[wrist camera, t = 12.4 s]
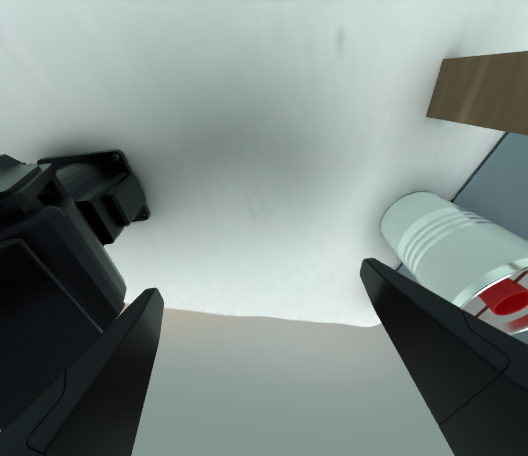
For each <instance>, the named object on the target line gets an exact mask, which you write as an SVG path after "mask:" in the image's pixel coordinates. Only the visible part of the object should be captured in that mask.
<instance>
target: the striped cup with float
mask: <svg viewBox="0 0 528 456" xmlns="http://www.w3.org/2000/svg"><path fill="white" fill-rule="evenodd" d="M380 230H381V234H382V236H383V237H384V239H385V240H386V241H387V242H388V244H389V245H390V246H391V248H392V249H393V250H394V251H395V253H396V254H397V255H398V257H399V258H400V259H401V261H402V262H403V263H404V265H405V266H406V268H407V269H408V270H409V272H410V273H411V274H412V275H413V277H414V278H415V279H416V280H417V282H418V283H419V284H420V285H421V286H423V287H425V288H427V289H428V290H430V291H432V292H434V293H435V294H437V295H439V296H441V297H442V298H444V299H446V300H448V301H449V302H451V303H453V304H455V305H456V306H458V307H460V308H461V310H462V309H463V310H465V311H467V312H469V313H470V314H472V315H474V316H476V317H477V318H479V319H481V320H483V321H485V322H486V323H488V324H490V325H492V326H494V327H496V328H497V329H499V330H501V331H503V332H505V333H507V334H509V335H514V334H517V333H520V332H523V331H526V330H528V241H527V240H525V239H524V238H522V237H520V236H518V235H516V234H514V233H512V232H510V231H508V230H507V229H505V228H503V227H501V226H499V225H497V224H495V223H493V222H491V221H489V220H487V219H485V218H483V217H481V216H479V215H477V214H475V213H473V212H470V211H468V210H466V209H464V208H462V207H460V206H458V205H456V204H453V203H451V202H449V201H447V200H445V199H443V198H441V197H439V196H437V195H435V194H433V193H430V192H416V193H412V194H409V195H407V196H404V197H402V198H401V199H399V200H398V201H396V202H395V203H394V204H393V205H392V206H391V207H390V208H389V209H388V210H387V211H386V213H385V214H384V216H383V218H382V221H381V225H380Z"/></svg>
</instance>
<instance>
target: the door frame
mask: <svg viewBox="0 0 528 456" xmlns="http://www.w3.org/2000/svg"><path fill="white" fill-rule="evenodd" d="M426 117H431V118H436V119H442V120H447V121H452V122H458V123H463V124H468V125H474V126H479V127H484V128H490V129H495V130H500V131H505V132H511V133H516V134H521V135H527V136H528V51H522V52H512V53H502V54H492V55H482V56H472V57H462V58H452V59H444V60H443V63H442V66H441V70H440V73H439V76H438V79H437V83H436V86H435V89H434V93H433V96H432V99H431V103H430V106H429V109H428V113H427V116H426Z"/></svg>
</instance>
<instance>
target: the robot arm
mask: <svg viewBox="0 0 528 456" xmlns="http://www.w3.org/2000/svg"><path fill="white" fill-rule="evenodd" d="M115 154H116V155H118V156H119V159H117V158H116V157H115ZM45 163H46V164H45ZM145 202H146V199H145V196H144V194H143V192H142V189H141V187H140V185H139V183H138V180H137V178H136V176H135V175H134V174H132V172H131V169H130V167H129V165H128V163H127V160H126V158H125V156H124V154H123V153H122V152H121V151H119V150H109V151H100V152H92V153H83V154H74V155H65V156H57V157H48V158H43V159H40V160H38V161H37V164H31V165H26V164H25V162H24V163H22V162H20V161H18V160H16V159H14V158H12V157H10V156H8V155H6V154H4V155H0V430H2V431H1V432H0V456H131V454H132V450H133V446H134V442H135V438H136V434H137V430H138V425H139V421H140V417H141V413H142V409H143V405H144V401H145V397H146V393H147V388H148V385H149V380H150V376H151V372H152V368H153V364H154V360H155V356H156V352H157V348H158V343H159V338H160V331H161V323H162V316H163V308H164V300H163V298H162V296H161V294H160V292H159V290H158V289H157V288H149V289H146V290H144V291H143V292H142V293H141V294H140V295H139V296H138V297H137V298H136V299H135V300H134V301H133V302H132V303H131V304H130V306H128V307H127V308H126V309H125V311H124V312H123V313H122V314H121V315H120V316H119V314H120V313H121V311H122V309H123V308H124V306H125V303H124V298H125V293H126V285H125V282H124V279H123V278H122V276H121V275H120V273H119V271H118V270H117V268H116V267H115V265H114V263H113V262H112V260H111V259H110V257H109V255H108V254H107V252H106V251H105V249H104V245H105V244H112V243H113V242H114V241H115V240H116V238H117V237H118V236H119V234H120V233H121V232H122V230H123V229H124V227H126V226H129V225H130V223H131V222H136V221H143V220H147V219H148V218H149V216H150V212H149V210H148V208H147V206H146V203H145ZM142 214H145V215H146V216H143V215H142ZM360 277H361V279H362V282H363V284H364V286H365V289H366V291H367V294H368V296H369V298H370V301H371V303H372V305H373V308H374V309H375V311H376V313H377V315H378V317H379V319H380V321H381V322H382V324H383V326H384V327H385V330H386V331H387V333H388V335H389V337H390V339H391V340H392V342H393V344H394V346H395V348H396V350H397V351H398V353H399V355H400V357H401V359H402V360H403V362H404V364H405V366H406V368H407V370H408V371H409V373H410V375H411V377H412V379H413V380H414V382H415V384H416V386H417V388H418V390H419V391H420V393H421V395H422V397H423V398H424V400H425V402H426V404H427V406H428V408H429V409H430V411H431V413H432V415H433V417H434V418H435V420H436V422H437V424H438V425H439V428H440V430H441V432H442V433H443V435H444V437H445V439H446V441H447V442H448V444H449V446H450V448H451V450H452V451H453V453H454V455H455V456H528V344H527V343H525V342H523V341H521V340H519V339H517V338H515V337H513V336H511V335H509V334H507V333H505V332H503V331H501V330H499V329H497V328H496V327H494V326H492V325H490V324H488V323H486V322H485V321H483V320H481V319H479V318H477V317H476V316H474V315H472V314H470V313H469V312H467V311H465V310H463V309H462V310H461V308H460V307H458V306H456V305H455V304H453V303H451V302H449V301H448V300H446V299H444V298H442V297H441V296H439V295H437V294H435V293H434V292H432V291H430V290H428V289H427V288H425V287H423V286H421V285H420V284H418V283H416V282H415V281H413V280H411V279H409V278H408V277H406V276H404V275H402V274H401V273H399V272H397V271H395V270H394V269H392V268H390V267H388V266H387V265H385V264H383V263H381V262H380V261H378V260H376V259H374V258H367V259H364V260H363V261H362V265H361V269H360ZM118 316H119V317H118ZM117 317H118V318H117ZM116 318H117V319H116ZM115 319H116V320H115ZM114 320H115V321H114ZM113 321H114V322H113Z"/></svg>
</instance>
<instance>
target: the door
mask: <svg viewBox="0 0 528 456" xmlns="http://www.w3.org/2000/svg"><path fill="white" fill-rule="evenodd" d="M453 204H456V205H458V206H460V207H462V208H464V209H466V210H468V211H470V212H473V213H475V214H477V215H479V216H481V217H483V218H485V219H487V220H489V221H491V222H493V223H495V224H497V225H499V226H501V227H503V228H505V229H507V230H508V231H510V232H512V233H514V234H516V235H518V236H520V237H522V238H524V239H525V240H527V241H528V136H527V135H521V134H516V133H511V132H509V133H508V134H507V136H506V137H505V138H504V139H503V141H502V142H501V143H500V144H499V146H498V147H497V148H496V149H495V151H494V152H493V153H492V154H491V155H490V157H489V158H488V159H487V160H486V162H485V163H484V164H483V165H482V167H481V168H480V169H479V170H478V172H477V173H476V174H475V175H474V177H473V178H472V179H471V180H470V182H469V183H468V184H467V185H466V186H465V188H464V189H463V190H462V191H461V193H460V194H459V195H458V196H457V198H456V199H455V200H454V201H453ZM397 272H399V273H401V274H402V275H404V276H406V277H408V278H409V279H411V280H413V281H415V282H416V283H418V282H417V280H416V279H415V278H414V277H413V275H412V274H411V273H410V272H409V270H408V269H407V268H406V266H405V265H404V263H403V265H402V266H401V267H400V268H399V270H398V271H397ZM418 284H419V283H418ZM511 336H513V337H515V338H517V339H519V340H521V341H523V342H525V343H527V344H528V330H526V331H523V332H520V333H517V334H514V335H511Z"/></svg>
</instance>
